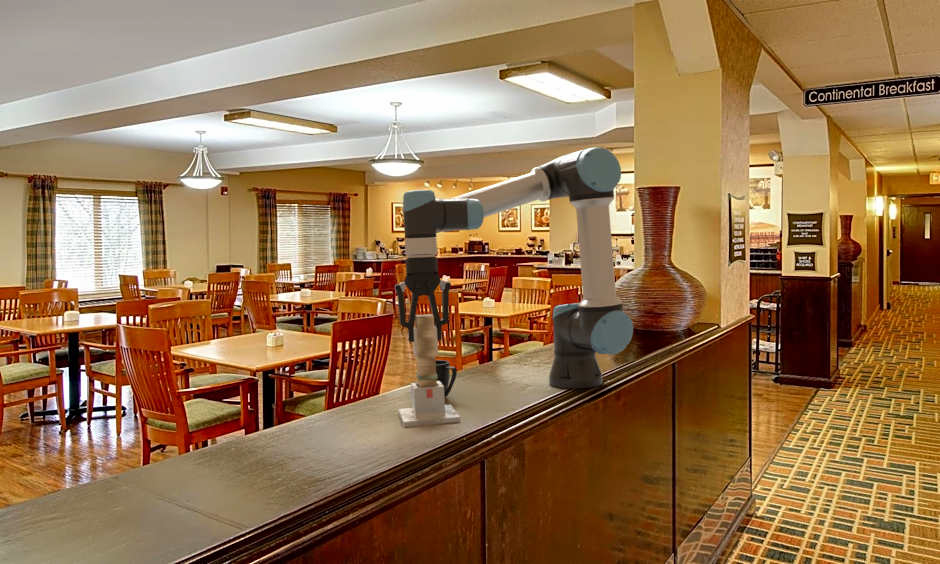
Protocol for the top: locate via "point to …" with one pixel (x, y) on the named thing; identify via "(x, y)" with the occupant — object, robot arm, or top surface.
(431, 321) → the post
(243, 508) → the top surface
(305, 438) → the top surface
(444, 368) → the mug
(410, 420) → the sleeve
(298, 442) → the top surface
